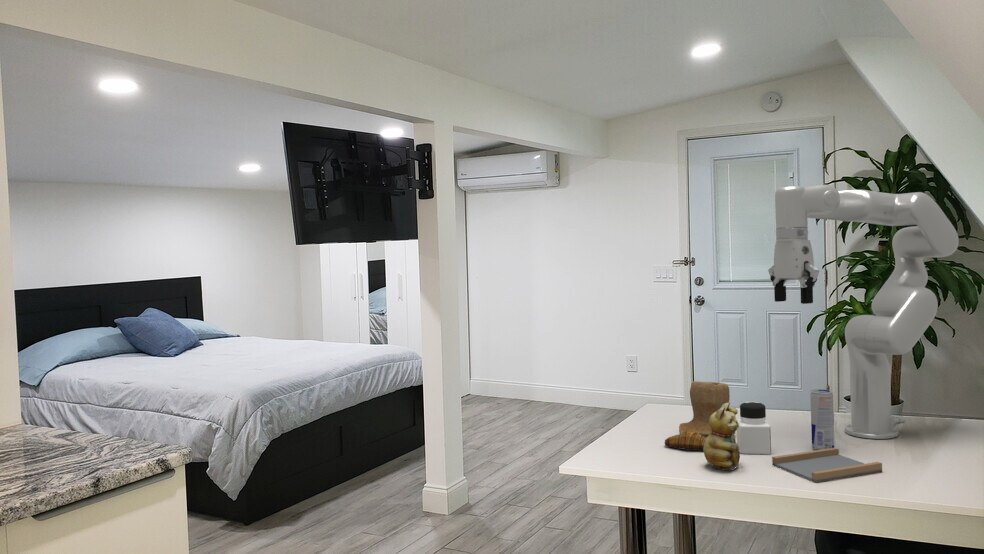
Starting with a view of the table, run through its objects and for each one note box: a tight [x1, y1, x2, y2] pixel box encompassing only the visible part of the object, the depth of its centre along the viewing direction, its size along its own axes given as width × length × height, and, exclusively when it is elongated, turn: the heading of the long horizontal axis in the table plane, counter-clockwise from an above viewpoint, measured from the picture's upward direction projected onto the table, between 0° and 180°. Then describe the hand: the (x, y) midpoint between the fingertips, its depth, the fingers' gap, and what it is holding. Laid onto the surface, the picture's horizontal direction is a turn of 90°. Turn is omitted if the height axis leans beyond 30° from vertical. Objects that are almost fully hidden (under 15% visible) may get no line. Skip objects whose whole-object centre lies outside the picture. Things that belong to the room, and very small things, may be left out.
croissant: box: [664, 430, 707, 451], centre depth 184 cm, size 14×7×5 cm, turn 64°
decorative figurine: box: [702, 402, 741, 471], centre depth 168 cm, size 10×8×15 cm
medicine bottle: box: [736, 401, 772, 455], centre depth 181 cm, size 7×7×12 cm
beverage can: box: [810, 388, 835, 451], centre depth 178 cm, size 5×5×15 cm
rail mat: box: [771, 447, 883, 484], centre depth 164 cm, size 18×14×2 cm
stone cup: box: [678, 380, 736, 437], centre depth 197 cm, size 15×12×15 cm
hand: (793, 302), depth 183 cm, fingers open, 9 cm apart
